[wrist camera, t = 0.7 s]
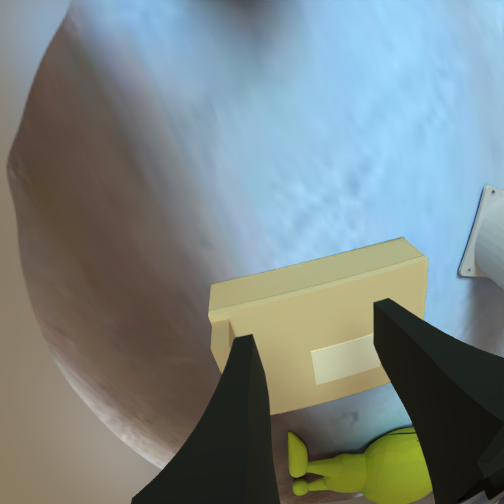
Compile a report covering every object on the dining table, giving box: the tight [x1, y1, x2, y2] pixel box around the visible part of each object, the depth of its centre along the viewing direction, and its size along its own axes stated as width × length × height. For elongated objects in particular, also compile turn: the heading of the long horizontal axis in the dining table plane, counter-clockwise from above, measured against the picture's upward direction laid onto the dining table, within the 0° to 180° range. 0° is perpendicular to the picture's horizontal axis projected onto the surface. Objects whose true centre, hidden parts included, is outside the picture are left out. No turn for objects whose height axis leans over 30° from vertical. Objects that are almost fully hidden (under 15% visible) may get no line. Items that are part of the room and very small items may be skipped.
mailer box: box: [209, 237, 424, 311], centre depth 22 cm, size 14×11×3 cm
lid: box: [208, 255, 428, 415], centre depth 19 cm, size 14×11×3 cm
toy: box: [288, 427, 433, 504], centre depth 29 cm, size 20×10×30 cm
